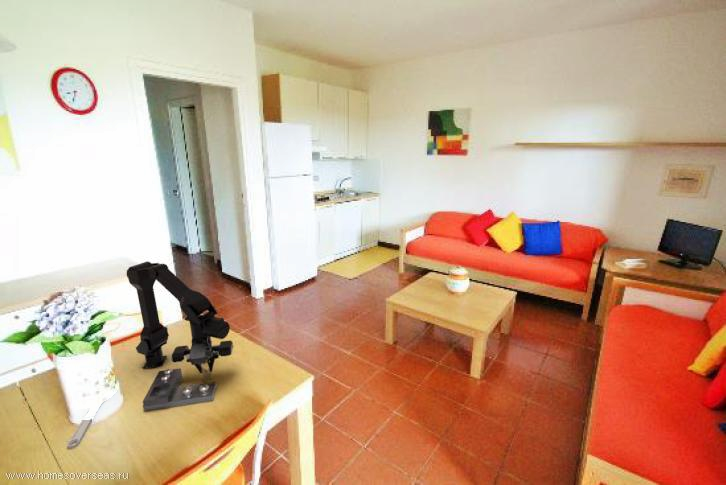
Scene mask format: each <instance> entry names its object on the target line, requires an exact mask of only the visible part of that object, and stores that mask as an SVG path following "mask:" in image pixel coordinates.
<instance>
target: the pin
mask: <svg viewBox="0 0 726 485" xmlns="http://www.w3.org/2000/svg"><path fill="white" fill-rule="evenodd" d="M200 365H201V372H202V373H201V378H202V381H203V382H208V381H210V380H211V379H212V378H213V376H212V372H210V360H209V359H207V362H206V363H204V364H200Z"/></svg>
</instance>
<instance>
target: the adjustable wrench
mask: <svg viewBox="0 0 726 485" xmlns="http://www.w3.org/2000/svg"><path fill="white" fill-rule="evenodd" d="M92 423H93V421H92V419H90V420H83V419H82V420H81V422H80V423H79V425H78V426H77V428H76V429H75V430H74V433H73V434H72V436H71V437H70V439H69V441H68V442H67V444H66V447H67V449H69V450H72V449H76V448H77V447H79V445H80V444H81V442H82V440H83V439H84V437H85V435H86V433H87V431H88V430H89V428H90V426H91V424H92Z"/></svg>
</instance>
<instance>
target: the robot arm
mask: <svg viewBox="0 0 726 485" xmlns="http://www.w3.org/2000/svg"><path fill="white" fill-rule="evenodd" d="M126 277H127V279H128V283H129V284H130V285H131V286H132V287H134V289H136V293H137V299H138V304H139V308H140V313H141V319H142V324H143V327H142V330H141V332H140V339H139V340H140V342H139V343H138V344H137V345H136V347H135V350H136V352H137V354H140V355H142V356H144V358H145V362H144V364H143V366H142V369H144V370H145V369H150V368H157V367H158V368H159V367H163V365H164V363H165V361H166V360H167V358H168V356H167V355H164V353H163V349H162V348H163V346H166V345H167V344H168V340H169V337H170V334H169V332H168V327H167V326H164V325H163V324H162V323H161V322H160V318H159V316H160V315H159V312H158V307H157V305H158V304H157V300H156V296H155V291H154V290H155V289H154V285H155V282H158V283H159V284H160V285H161V286H163V287H164V289H166V290H167V292H168V293H170V294H171V295H172V296H173V297H174V298H175V299H176V300H177V301H178V303H179V307H180V309H181V311H182V312H183V314H185V315H186V316H185V317H184V321H188V322H189V328H190V333H191V345H190V348H189V345H179V346H176V347H175V348H174V350H173V352H172V353H171V357H170V358H171V362H172V363H181V362H184V360H185V357H186V360H185V362H186V363H190V364H191V365H192V366H194V367H195V368H196V369H197V370H198V372H199V374H202V372H201V365H200V364H204V363H206V362H207V359H209V360H210V372H211V373H212V372H213V368H214V364H215V361H216V360H217V359H219V358H220V357H229V356H232V352H233V348H234V343H233V341H232V340H224V339H225V338H226V337H228V334H230V330H231V326H230V324H229V322H228V321H225V319H224V317H218V316H216V315H218V314H219V313H218V311H217V310H216V307H215V306H214V305H213V304H212V302H211V301H210V299H209V298H208V297H207V296H205V295H204V294H203V293H201V292H200V291H196V290H192V289H191V288H190V287H189V286H187V284H186V283H184V282H183V281H182V279H180V278H179V277H178V276H176V274H174V272H172V271H171V270H170V269H169V266H168V265H167V264H166V263H160V262H150V261H149V260H148V261H144V262H141V263H138V264H137V263H136V264H135V265H132V266H129V267H128V269H126ZM205 312H206V313H205ZM212 338H214V339H218V340H222V341H220V343H219V344H214V345H212V344H213V340H212ZM223 340H224V341H223Z"/></svg>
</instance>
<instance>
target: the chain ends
mask: <svg viewBox="0 0 726 485" xmlns="http://www.w3.org/2000/svg"><path fill="white" fill-rule="evenodd" d="M182 382H183V373H182V368H174V369H173V368H167V369H166V370H159V371H158V372H157V374H156V376H155V377H154V380H153V381H152V384H150V387H149V389H148V391H147V392H146V395H145V396H144V398H143V399H142V409H143V410H142V411H143V412H148V411H152V410H153V411H154V410H161V409H167V408H168V409H169V408H174V407H182V406H186V405H194V404H200V403H201V404H202V403H208V402H213V401H214V397H215V395H216V390H217V388H218V387H217V382H216V381H211V382H203V383H197V384H190V385H183V386H182V385H181V383H182Z"/></svg>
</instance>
